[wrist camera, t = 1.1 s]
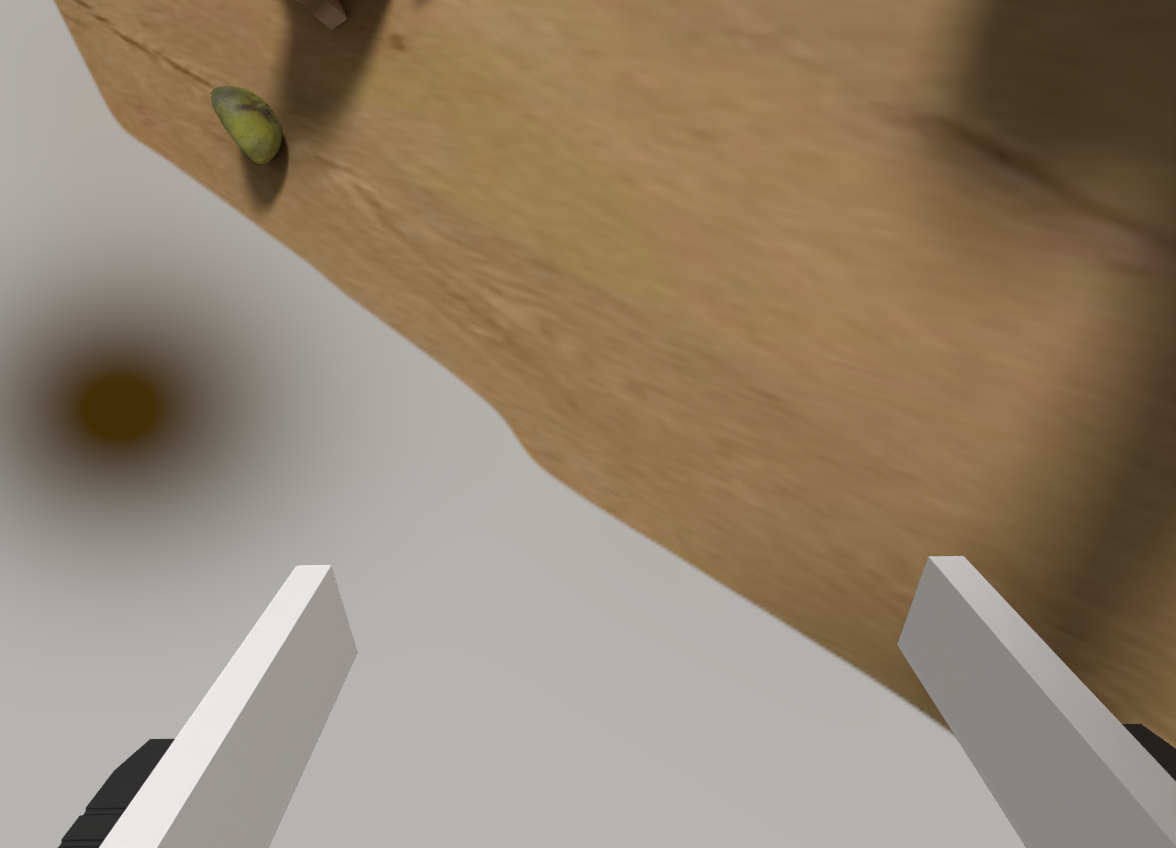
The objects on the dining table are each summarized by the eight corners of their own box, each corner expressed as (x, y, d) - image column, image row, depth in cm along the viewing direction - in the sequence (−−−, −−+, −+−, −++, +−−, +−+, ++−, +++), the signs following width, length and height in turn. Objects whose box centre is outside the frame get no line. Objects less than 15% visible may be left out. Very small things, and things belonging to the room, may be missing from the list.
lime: (286, 177, 41) (230, 156, 37) (238, 150, 42) (177, 125, 37) (306, 121, 40) (251, 91, 36) (257, 94, 41) (196, 60, 36)
